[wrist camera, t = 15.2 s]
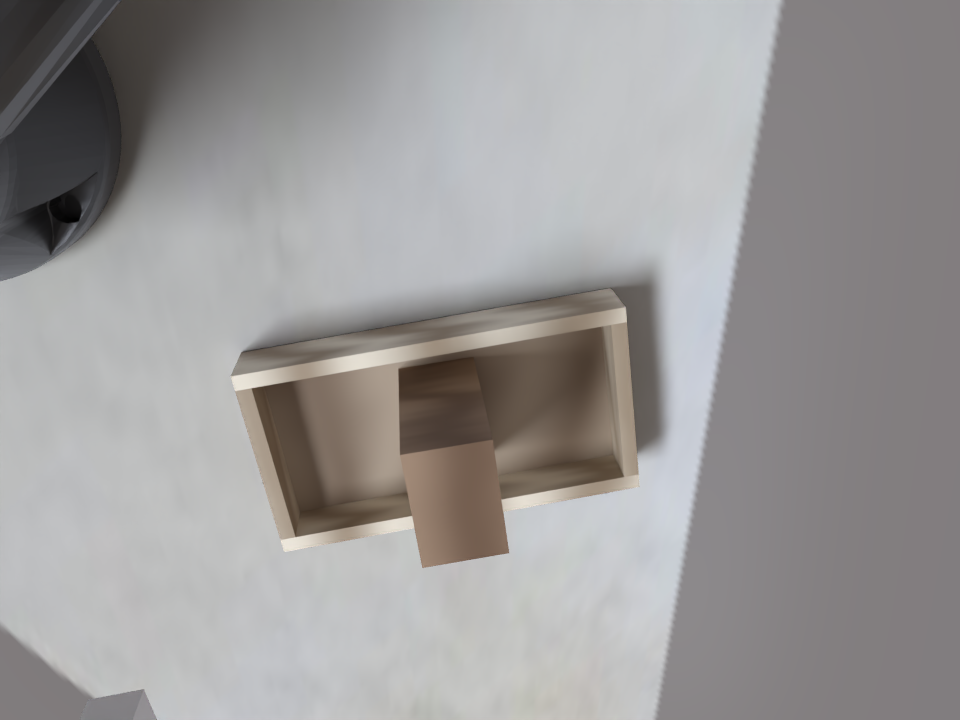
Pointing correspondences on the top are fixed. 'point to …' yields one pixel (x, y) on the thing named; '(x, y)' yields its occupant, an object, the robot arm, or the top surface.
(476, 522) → the tan wooden block
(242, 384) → the open wooden box
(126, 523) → the top surface
